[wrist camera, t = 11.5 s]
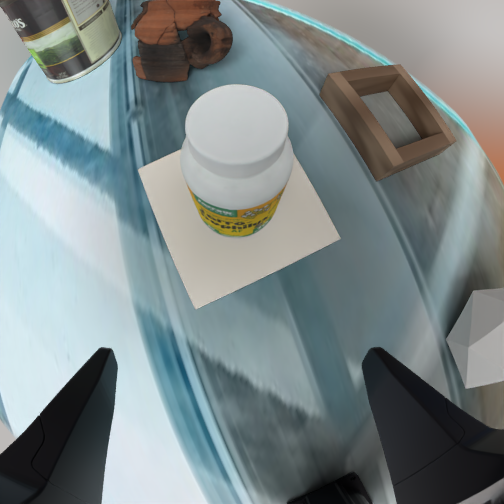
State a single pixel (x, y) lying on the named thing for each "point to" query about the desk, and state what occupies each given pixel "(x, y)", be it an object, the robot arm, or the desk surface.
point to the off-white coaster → (229, 249)
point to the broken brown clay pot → (169, 43)
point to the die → (480, 339)
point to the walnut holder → (367, 127)
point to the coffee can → (65, 34)
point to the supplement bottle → (236, 158)
